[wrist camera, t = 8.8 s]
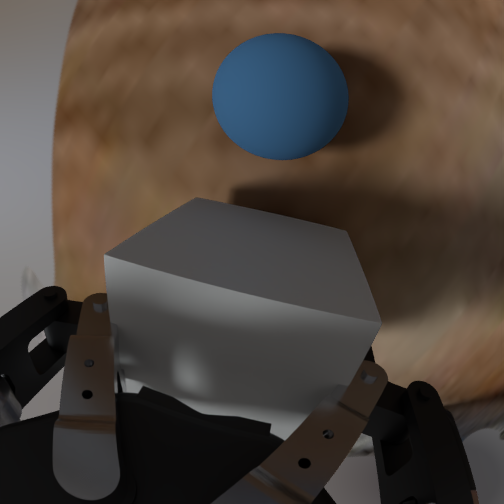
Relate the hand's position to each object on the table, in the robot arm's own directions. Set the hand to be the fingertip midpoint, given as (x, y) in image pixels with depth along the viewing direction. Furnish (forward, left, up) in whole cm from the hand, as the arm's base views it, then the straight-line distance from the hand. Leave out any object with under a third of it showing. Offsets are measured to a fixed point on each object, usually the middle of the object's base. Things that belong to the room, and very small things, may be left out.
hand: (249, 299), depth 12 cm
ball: (0, -8, -1) cm, 8 cm away
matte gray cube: (0, 0, -2) cm, 2 cm away
